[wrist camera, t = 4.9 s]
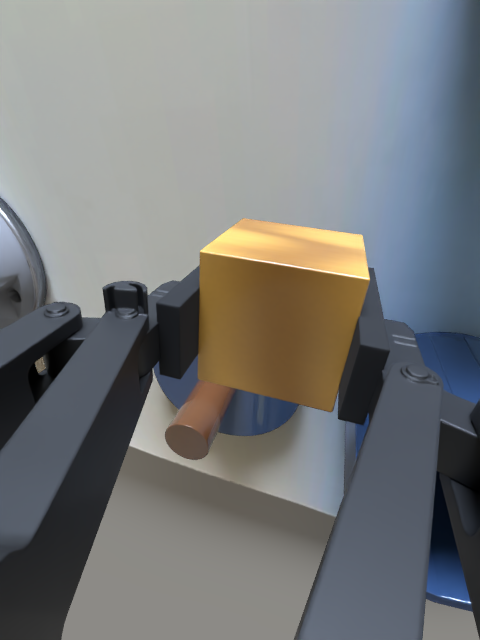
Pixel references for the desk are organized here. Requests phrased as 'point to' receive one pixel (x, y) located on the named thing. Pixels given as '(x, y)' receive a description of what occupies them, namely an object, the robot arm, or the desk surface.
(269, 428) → the lid
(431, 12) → the desk surface
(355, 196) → the desk surface
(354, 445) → the blue paneled pot
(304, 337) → the block
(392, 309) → the desk surface
